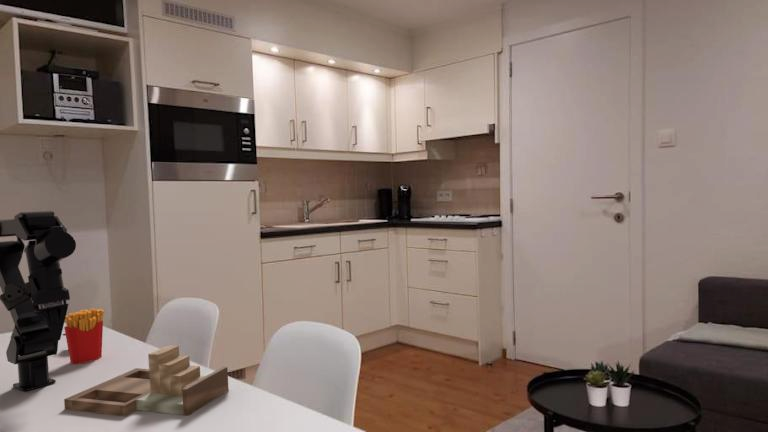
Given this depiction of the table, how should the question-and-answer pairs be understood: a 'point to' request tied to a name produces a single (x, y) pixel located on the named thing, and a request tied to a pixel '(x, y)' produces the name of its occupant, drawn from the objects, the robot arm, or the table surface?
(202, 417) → the table surface
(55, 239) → the robot arm
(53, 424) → the table surface
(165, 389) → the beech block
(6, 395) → the table surface
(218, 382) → the brown wooden flat frame
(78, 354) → the french fries
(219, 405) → the table surface
